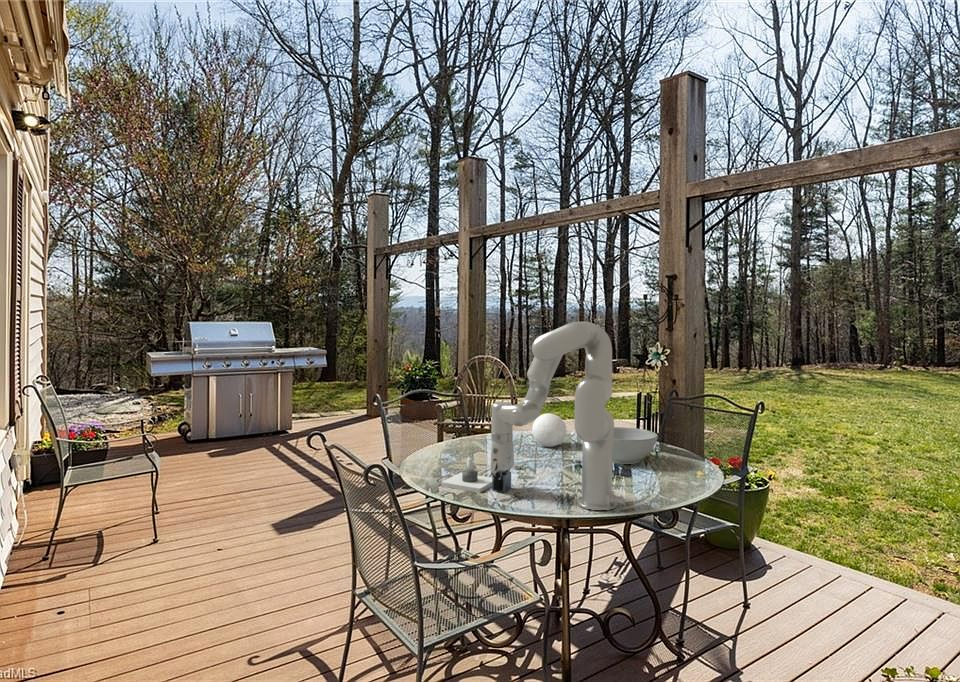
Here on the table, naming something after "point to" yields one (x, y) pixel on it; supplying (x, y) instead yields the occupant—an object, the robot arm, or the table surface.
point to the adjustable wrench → (516, 466)
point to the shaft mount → (468, 480)
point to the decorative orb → (549, 430)
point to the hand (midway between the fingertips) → (501, 487)
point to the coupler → (504, 481)
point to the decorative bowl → (632, 444)
